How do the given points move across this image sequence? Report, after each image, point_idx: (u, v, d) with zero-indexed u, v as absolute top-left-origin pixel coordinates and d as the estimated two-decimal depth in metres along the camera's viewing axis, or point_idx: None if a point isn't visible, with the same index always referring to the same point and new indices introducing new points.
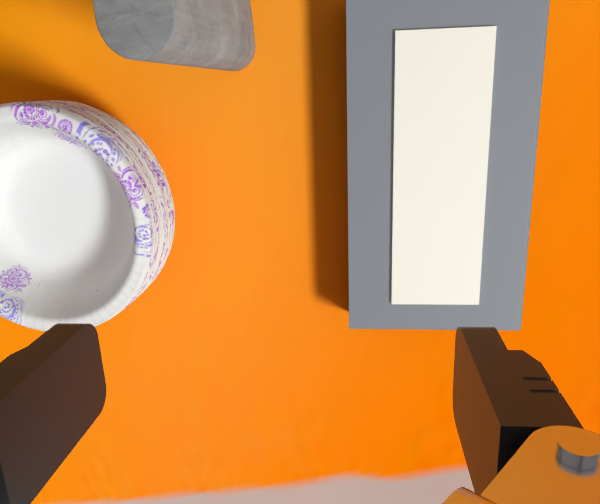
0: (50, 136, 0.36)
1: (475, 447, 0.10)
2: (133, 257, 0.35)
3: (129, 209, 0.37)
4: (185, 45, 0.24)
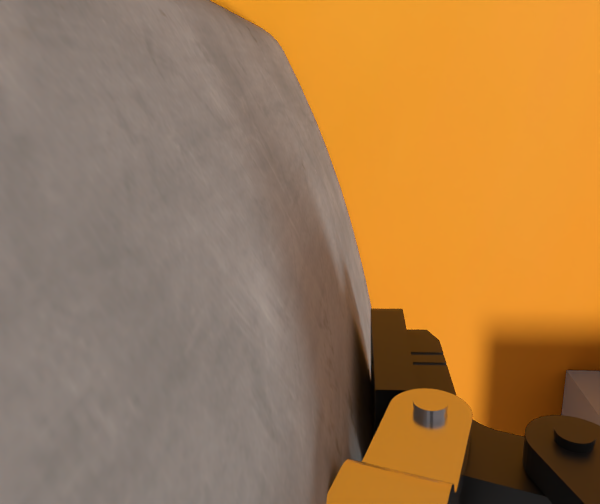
0: None
1: None
2: None
3: None
4: None
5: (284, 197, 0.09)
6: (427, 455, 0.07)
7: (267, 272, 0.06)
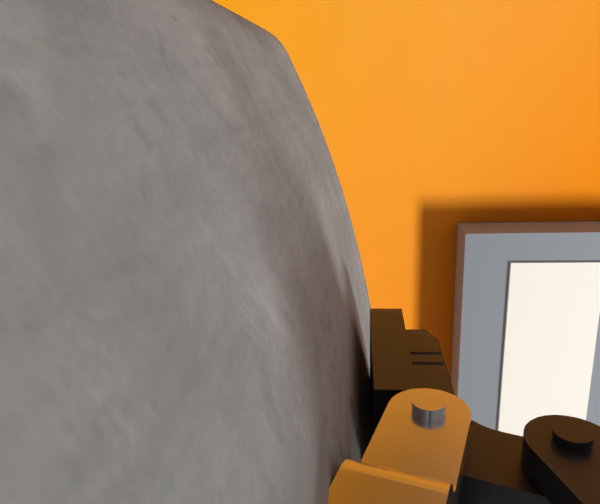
0: None
1: None
2: None
3: None
4: None
5: (289, 201, 0.09)
6: (425, 456, 0.07)
7: (274, 277, 0.06)
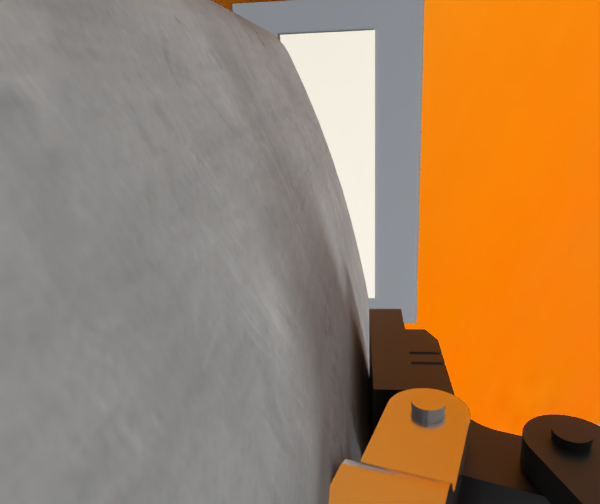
0: None
1: (371, 414, 0.11)
2: None
3: None
4: None
5: (291, 204, 0.09)
6: (424, 455, 0.07)
7: (277, 282, 0.06)
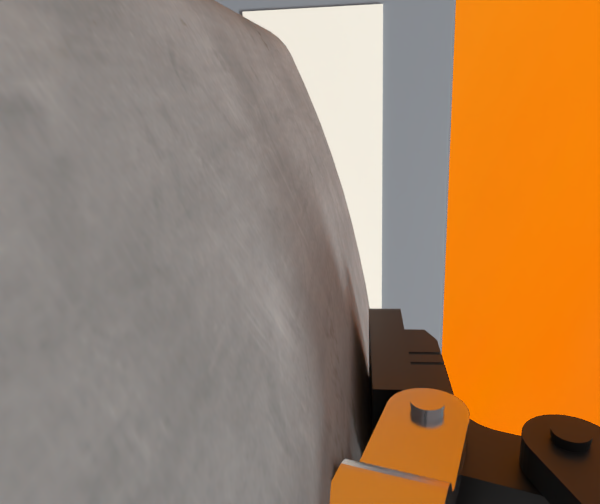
0: None
1: None
2: None
3: None
4: None
5: (294, 206, 0.09)
6: (424, 455, 0.07)
7: (280, 284, 0.06)
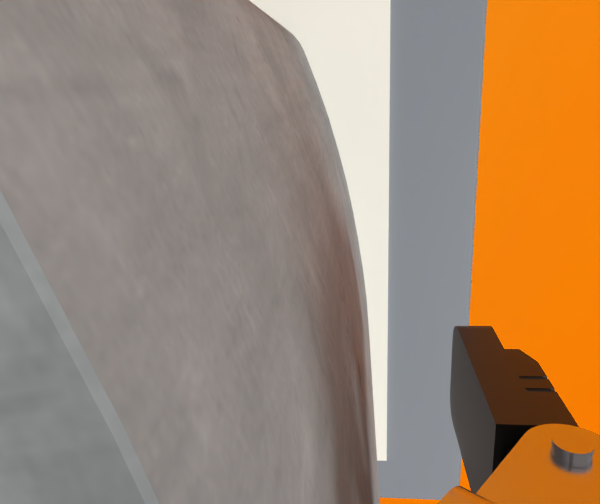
0: None
1: (471, 445, 0.10)
2: None
3: None
4: None
5: (315, 185, 0.10)
6: (556, 501, 0.06)
7: (311, 245, 0.07)
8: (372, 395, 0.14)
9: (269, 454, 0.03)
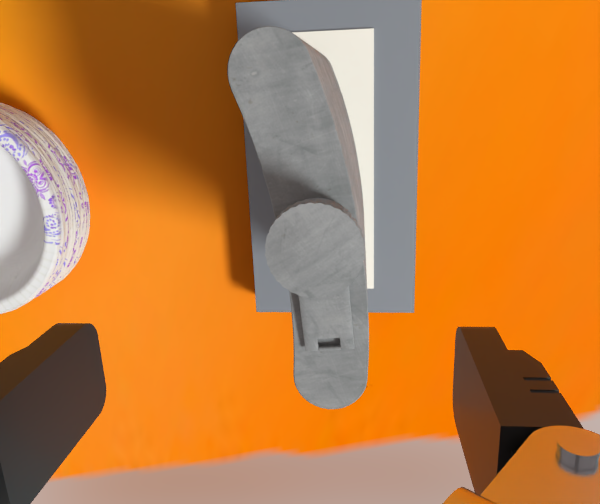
0: None
1: (475, 447, 0.10)
2: (43, 245, 0.38)
3: None
4: None
5: (341, 116, 0.28)
6: None
7: (342, 126, 0.26)
8: (363, 216, 0.33)
9: (340, 138, 0.22)
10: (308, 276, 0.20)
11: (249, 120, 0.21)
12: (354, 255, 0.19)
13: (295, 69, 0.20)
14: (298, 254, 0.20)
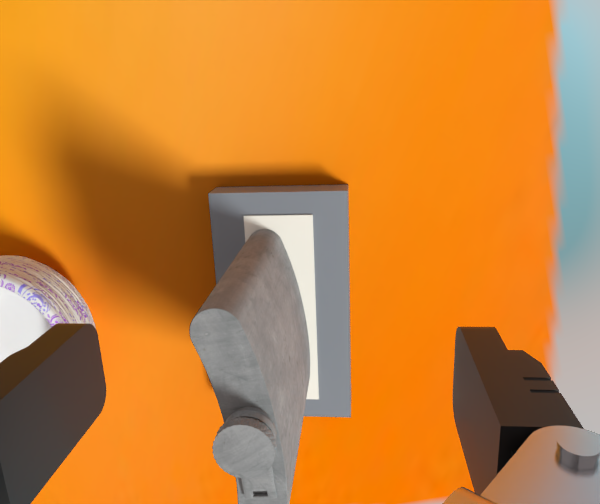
0: None
1: (475, 447, 0.10)
2: None
3: None
4: None
5: (278, 312, 0.40)
6: None
7: (274, 332, 0.37)
8: (300, 366, 0.44)
9: (265, 364, 0.33)
10: (240, 466, 0.31)
11: (204, 359, 0.32)
12: (268, 455, 0.31)
13: (232, 333, 0.31)
14: (233, 454, 0.31)
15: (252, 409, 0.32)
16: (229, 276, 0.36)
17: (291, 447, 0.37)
